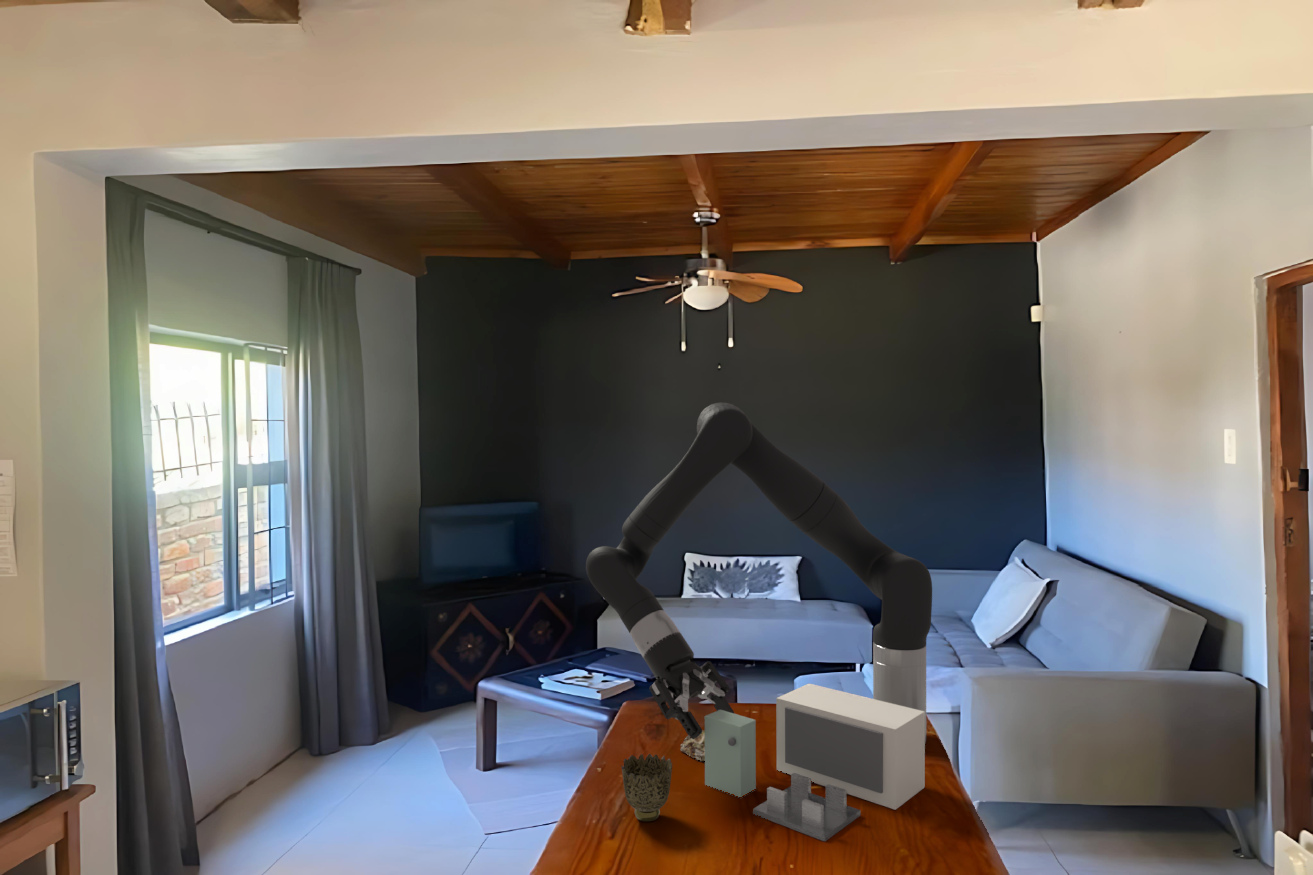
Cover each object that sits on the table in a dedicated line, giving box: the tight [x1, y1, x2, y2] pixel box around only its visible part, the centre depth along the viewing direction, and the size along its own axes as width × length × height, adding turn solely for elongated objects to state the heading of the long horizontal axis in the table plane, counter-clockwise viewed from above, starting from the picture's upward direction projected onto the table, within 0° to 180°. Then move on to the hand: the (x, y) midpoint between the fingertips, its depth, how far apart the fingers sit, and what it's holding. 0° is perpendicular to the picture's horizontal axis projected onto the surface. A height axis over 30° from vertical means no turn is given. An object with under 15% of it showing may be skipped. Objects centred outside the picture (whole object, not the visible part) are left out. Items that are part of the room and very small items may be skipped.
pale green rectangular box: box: [704, 710, 757, 798], centre depth 131 cm, size 5×7×11 cm
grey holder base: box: [752, 773, 861, 842], centre depth 122 cm, size 10×12×4 cm
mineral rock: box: [680, 729, 705, 762], centre depth 146 cm, size 11×4×8 cm
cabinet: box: [775, 683, 926, 810], centre depth 134 cm, size 10×21×12 cm, turn 48°
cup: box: [620, 753, 673, 822], centre depth 122 cm, size 8×7×8 cm
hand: (715, 728), depth 134 cm, fingers open, 8 cm apart
